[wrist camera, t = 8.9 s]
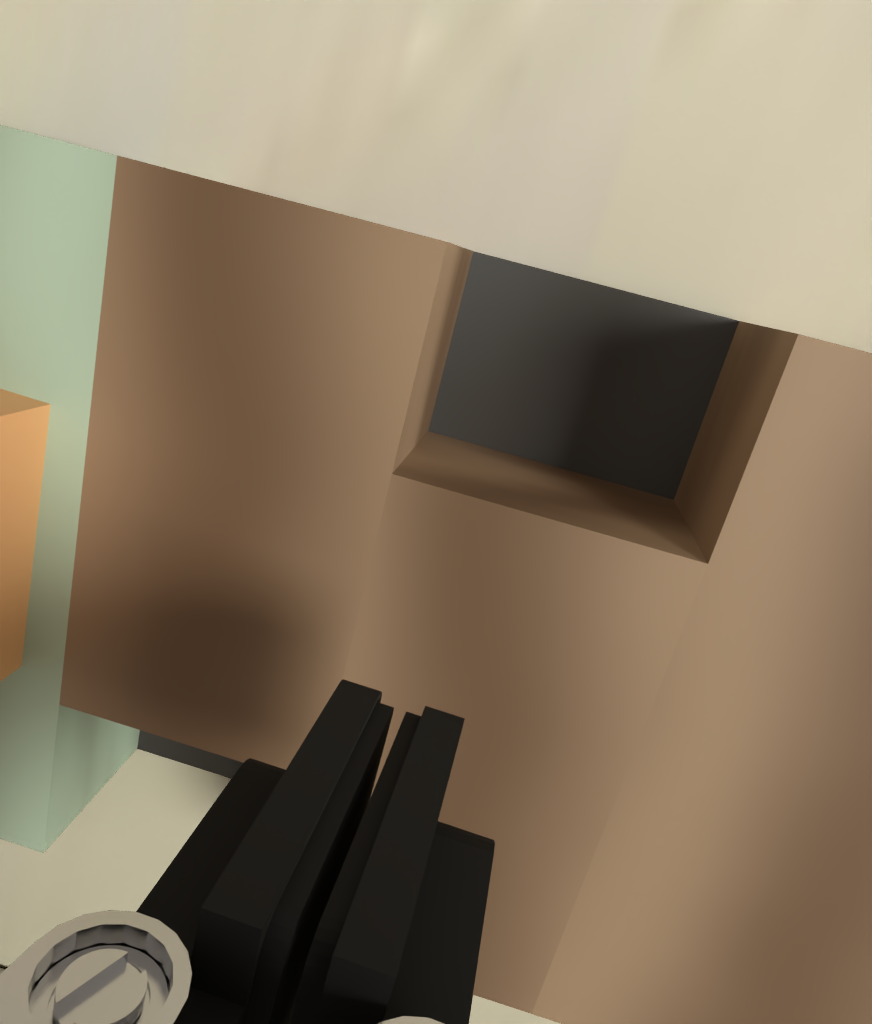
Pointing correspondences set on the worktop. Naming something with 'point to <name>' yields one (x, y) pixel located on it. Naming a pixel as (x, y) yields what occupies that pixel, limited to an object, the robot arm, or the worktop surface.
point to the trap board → (457, 571)
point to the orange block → (18, 515)
